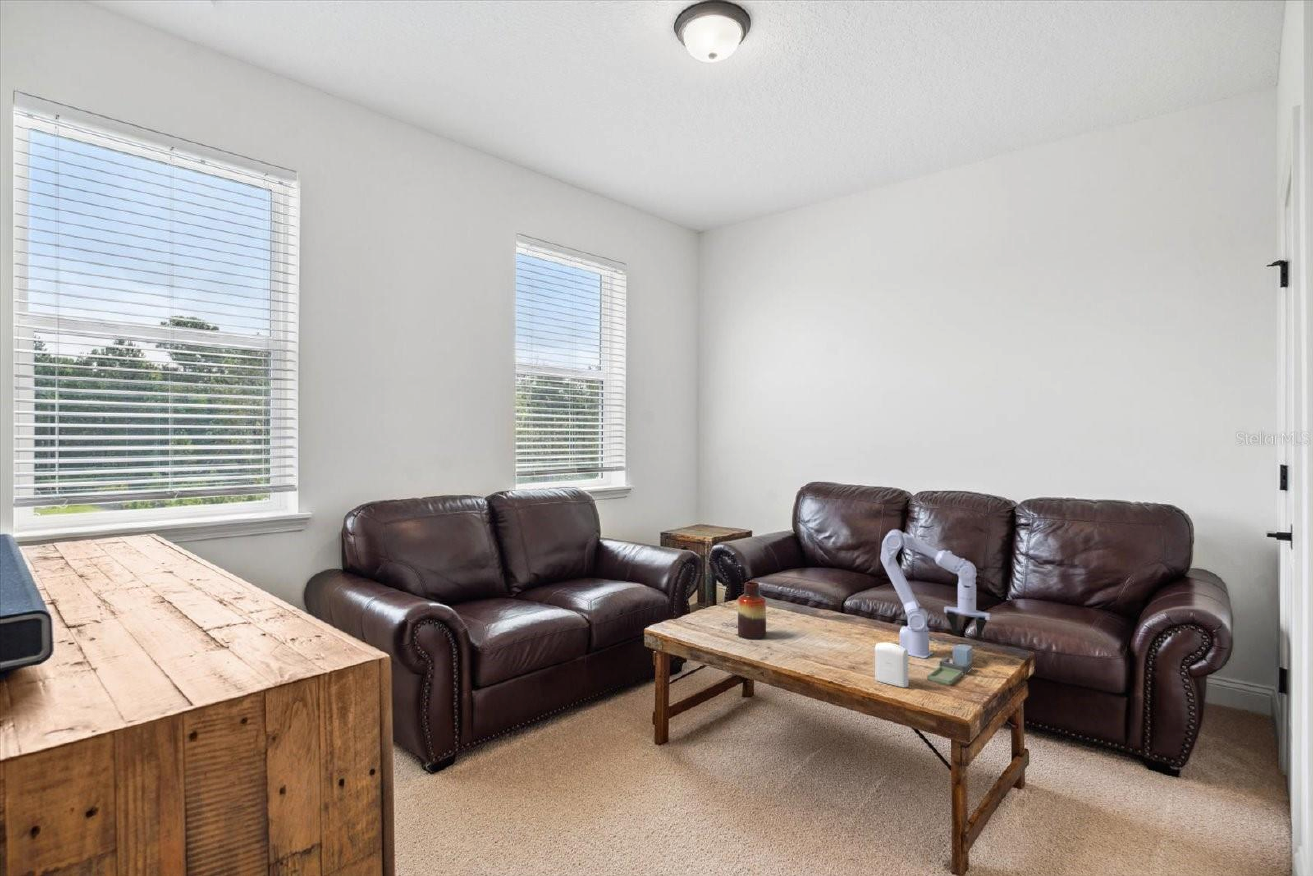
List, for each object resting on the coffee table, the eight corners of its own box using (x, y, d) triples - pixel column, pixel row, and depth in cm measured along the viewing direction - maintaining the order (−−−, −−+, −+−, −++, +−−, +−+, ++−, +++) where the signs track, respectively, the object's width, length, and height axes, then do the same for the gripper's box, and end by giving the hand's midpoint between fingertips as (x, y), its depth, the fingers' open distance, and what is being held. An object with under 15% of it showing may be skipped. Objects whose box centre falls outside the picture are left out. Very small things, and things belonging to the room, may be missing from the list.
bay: (939, 669, 218) (939, 661, 218) (946, 664, 223) (946, 656, 223) (965, 675, 213) (965, 667, 213) (971, 669, 218) (971, 662, 218)
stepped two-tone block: (952, 664, 222) (952, 648, 222) (961, 657, 229) (961, 642, 229) (966, 667, 219) (966, 651, 219) (974, 660, 226) (974, 644, 226)
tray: (927, 680, 208) (927, 675, 208) (939, 670, 217) (939, 666, 217) (950, 685, 204) (950, 681, 204) (962, 675, 212) (962, 671, 212)
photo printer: (872, 681, 208) (872, 641, 208) (878, 677, 211) (878, 638, 211) (904, 689, 201) (904, 649, 201) (910, 685, 204) (910, 645, 204)
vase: (765, 631, 260) (765, 580, 260) (767, 640, 249) (766, 586, 249) (737, 631, 261) (737, 579, 261) (738, 639, 250) (738, 586, 250)
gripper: (993, 598, 225) (993, 638, 225) (948, 592, 234) (948, 630, 234) (986, 602, 219) (986, 643, 219) (942, 595, 229) (941, 634, 229)
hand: (966, 637), depth 227 cm, fingers open, 7 cm apart
